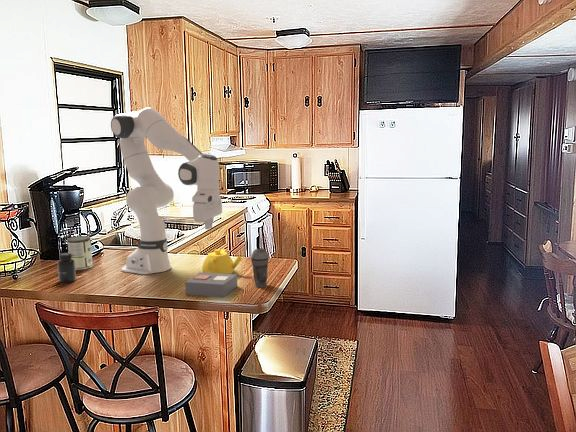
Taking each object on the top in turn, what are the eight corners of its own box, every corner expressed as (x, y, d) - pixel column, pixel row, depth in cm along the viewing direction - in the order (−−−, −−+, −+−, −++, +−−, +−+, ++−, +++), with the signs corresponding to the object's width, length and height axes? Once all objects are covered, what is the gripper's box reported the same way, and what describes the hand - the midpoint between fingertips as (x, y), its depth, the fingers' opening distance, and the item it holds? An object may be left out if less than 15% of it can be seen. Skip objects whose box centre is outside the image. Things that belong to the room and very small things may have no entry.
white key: (212, 285, 205) (212, 279, 205) (217, 282, 210) (217, 275, 210) (224, 286, 204) (224, 280, 203) (229, 282, 209) (229, 276, 208)
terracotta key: (194, 284, 207) (193, 278, 207) (199, 280, 212) (199, 274, 212) (205, 285, 206) (205, 278, 206) (211, 281, 211) (210, 275, 210)
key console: (185, 294, 204) (185, 282, 203) (201, 283, 217) (200, 272, 216) (224, 297, 200) (223, 284, 199) (237, 286, 213) (236, 274, 212)
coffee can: (70, 265, 251) (68, 236, 249) (93, 263, 254) (91, 235, 252) (68, 271, 242) (65, 241, 239) (92, 268, 244) (89, 239, 242)
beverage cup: (251, 283, 217) (250, 236, 213) (269, 282, 217) (267, 235, 214) (251, 288, 209) (250, 239, 206) (270, 287, 210) (268, 239, 207)
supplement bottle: (59, 284, 221) (57, 256, 219) (58, 280, 227) (55, 253, 225) (77, 281, 224) (74, 254, 222) (75, 277, 230) (72, 251, 228)
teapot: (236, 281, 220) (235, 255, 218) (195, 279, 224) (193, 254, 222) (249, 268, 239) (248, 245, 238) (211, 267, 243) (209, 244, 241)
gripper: (211, 191, 222) (212, 223, 224) (190, 198, 202) (190, 233, 205) (225, 192, 220) (225, 224, 223) (205, 199, 201) (205, 234, 203)
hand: (208, 228), depth 214 cm, fingers closed
